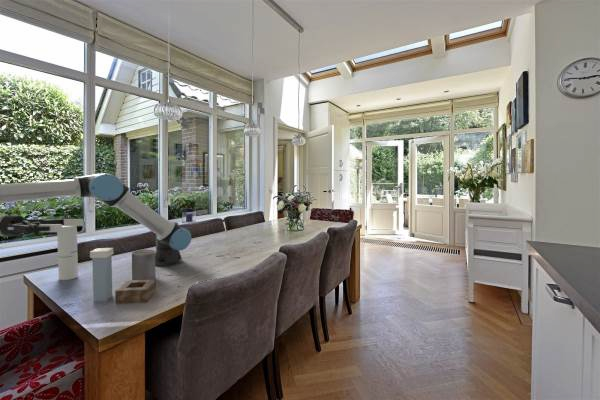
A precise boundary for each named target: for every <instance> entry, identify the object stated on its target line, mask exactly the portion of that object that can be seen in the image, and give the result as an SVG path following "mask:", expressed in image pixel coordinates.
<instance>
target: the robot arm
mask: <svg viewBox="0 0 600 400" xmlns="http://www.w3.org/2000/svg"><path fill="white" fill-rule="evenodd" d="M65 197H66V198H67V197H77V198H96V199H98V200H99V201H101V202H102V203H104V204H105V205H107V206H108V207H110V208H117V209H118V210H119V211H122V212H123V213H124V214H126V215H128V216H129V217H130V218H131V219H133V220H134V221H136V222H138V223H139V224H140V225H142V226H143V227H145V228H146V229H148V230H149V231H151V232H152V233H154V234H155V267H171V266H175V265H178V264H181V263H182V262H183V261H182V260H183V258H182V255H181V251H182V250H183V251H184V250H185V249H187V248H188V247H189V246H190V244H191V242H192V233H191V232H190V231H189V230H188V229H187V228H184V227H183V226H181V225H179V223H178V222H176V221H174V220H171V221H170V220H168V219H166V217H165V218H164V217H163V216H162V215H161V214H160V213H158V212H157V211H155V210H154V209H152V208H151V207H150V206H148V205H147V204H146V203H144V202H143V201H142V200H140V199H139V198H138V197H137V196H135V194H132V193H131V192H130V187H128V186H127V185H126V184H124V183H123V182H122V180H121V179H120V178H119V177H118V176H116V175H115V174H112V173H107V172H103V173H94V174H89V175H84V176H75V177H74V178H72V179H59V180H45V181H44V180H43V181H42V180H41V181H31V182H30V181H27V182H17V183H16V182H14V183H0V204H6V203H15V202H24V201H36V200H45V199H54V198H55V199H56V198H65ZM62 226H77V227H83V226H85V225H84V218H67V217H66V216H64V217H63V218H50V219H49V218H47V219H46V218H45V219H43V218H41V219H37V218H36V219H33V218H31V219H30V218H29V219H27V220H26V219H25V217H24V216H22V215H19V214H0V237H4V236H6V237H17V236H20V235H22V234H30V235H31V234H33V235H34V236H37V235H39V233H57V232H62Z"/></svg>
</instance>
